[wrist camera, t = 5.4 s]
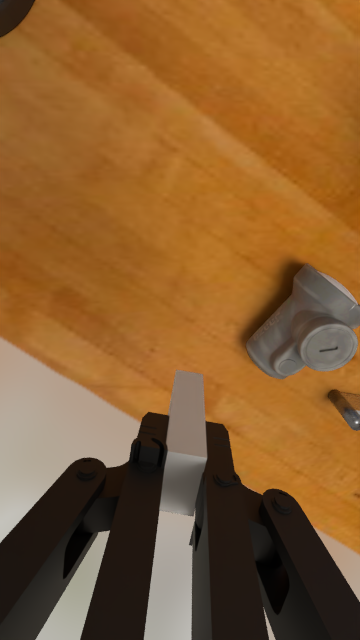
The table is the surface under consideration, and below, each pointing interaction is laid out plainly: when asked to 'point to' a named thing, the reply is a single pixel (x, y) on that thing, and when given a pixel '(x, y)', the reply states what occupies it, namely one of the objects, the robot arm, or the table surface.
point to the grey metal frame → (347, 407)
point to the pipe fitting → (308, 328)
